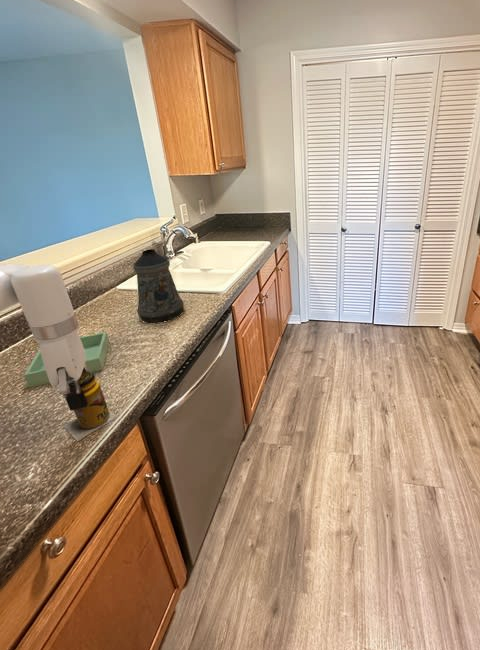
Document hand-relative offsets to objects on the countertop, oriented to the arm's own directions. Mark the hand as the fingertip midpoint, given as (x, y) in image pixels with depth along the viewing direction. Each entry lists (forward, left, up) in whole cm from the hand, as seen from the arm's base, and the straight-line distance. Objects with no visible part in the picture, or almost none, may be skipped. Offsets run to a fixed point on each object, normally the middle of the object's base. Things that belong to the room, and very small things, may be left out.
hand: (82, 396), depth 72 cm
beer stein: (+16, +54, -7) cm, 57 cm away
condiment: (0, 0, -7) cm, 7 cm away
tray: (-9, +30, -7) cm, 32 cm away
